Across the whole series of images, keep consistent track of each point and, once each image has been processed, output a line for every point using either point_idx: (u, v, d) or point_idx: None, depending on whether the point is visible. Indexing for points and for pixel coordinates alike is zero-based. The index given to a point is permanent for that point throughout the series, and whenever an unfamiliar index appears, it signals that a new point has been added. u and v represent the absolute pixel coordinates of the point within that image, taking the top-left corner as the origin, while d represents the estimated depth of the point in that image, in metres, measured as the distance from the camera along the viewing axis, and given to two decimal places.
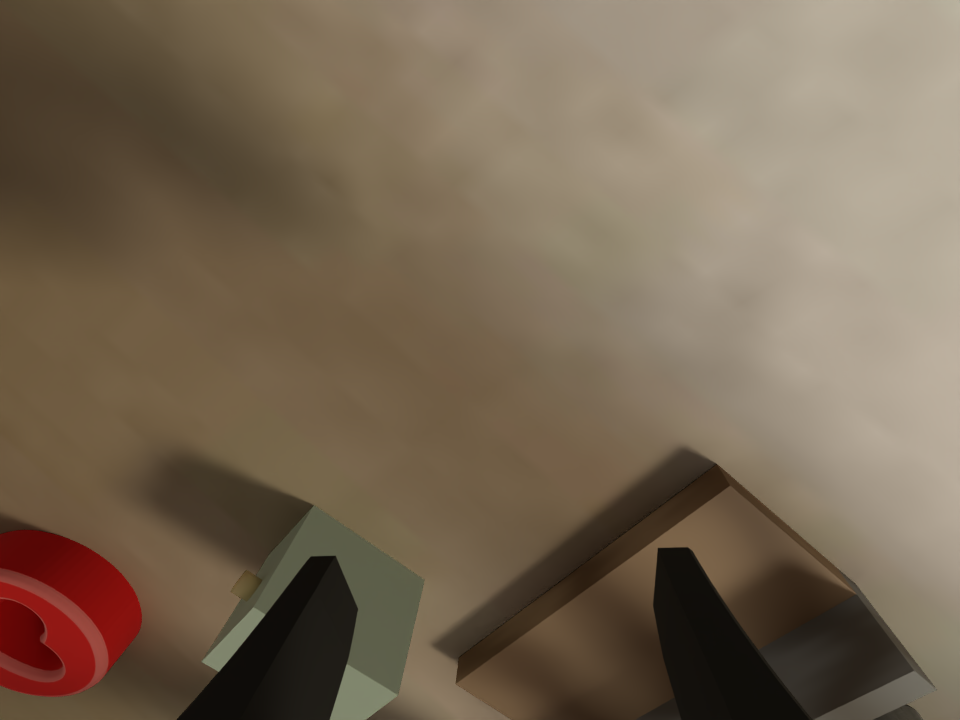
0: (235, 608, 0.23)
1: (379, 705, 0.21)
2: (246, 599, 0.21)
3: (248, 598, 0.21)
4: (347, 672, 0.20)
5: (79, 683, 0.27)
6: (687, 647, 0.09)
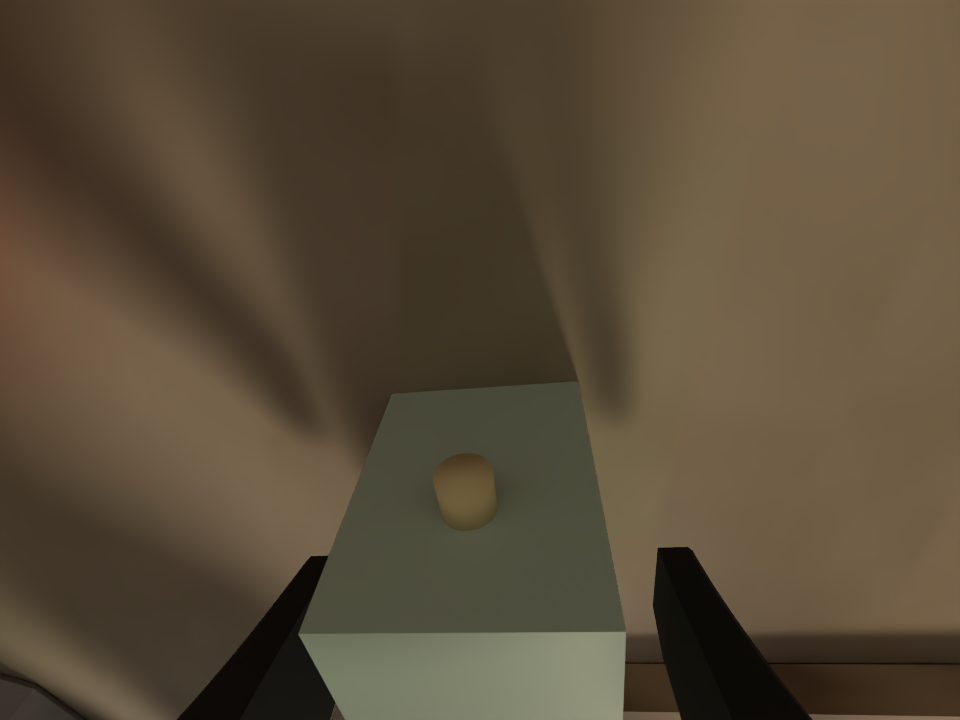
0: (355, 497, 0.09)
1: None
2: (463, 527, 0.08)
3: (472, 529, 0.08)
4: None
5: None
6: (687, 648, 0.09)
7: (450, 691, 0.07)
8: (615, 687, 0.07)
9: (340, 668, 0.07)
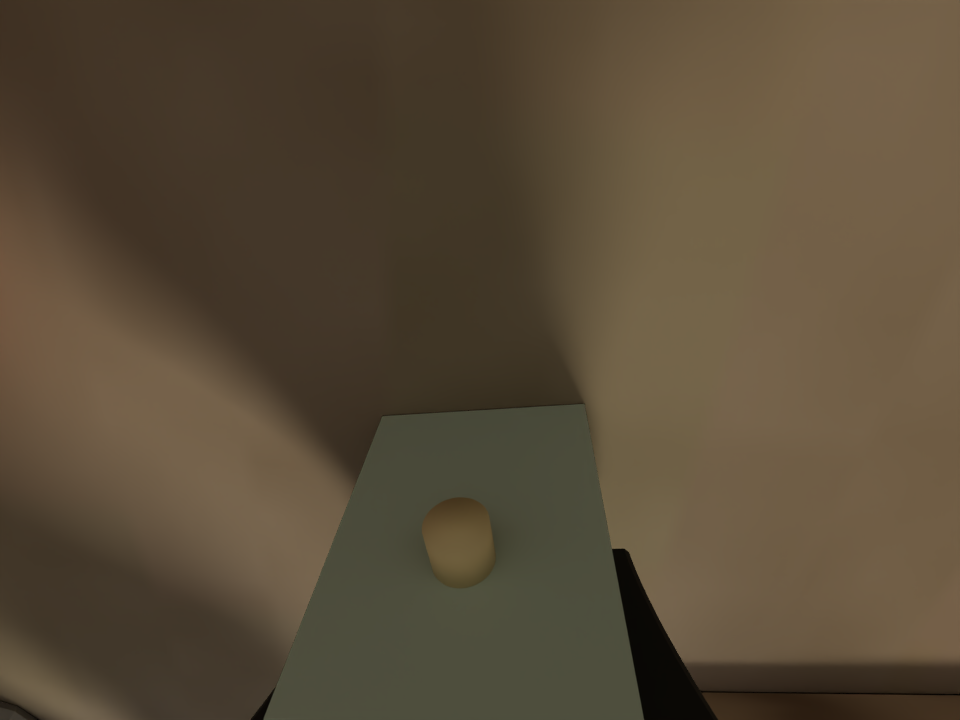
0: (336, 543, 0.08)
1: None
2: (456, 585, 0.07)
3: (466, 587, 0.07)
4: None
5: None
6: None
7: None
8: None
9: None
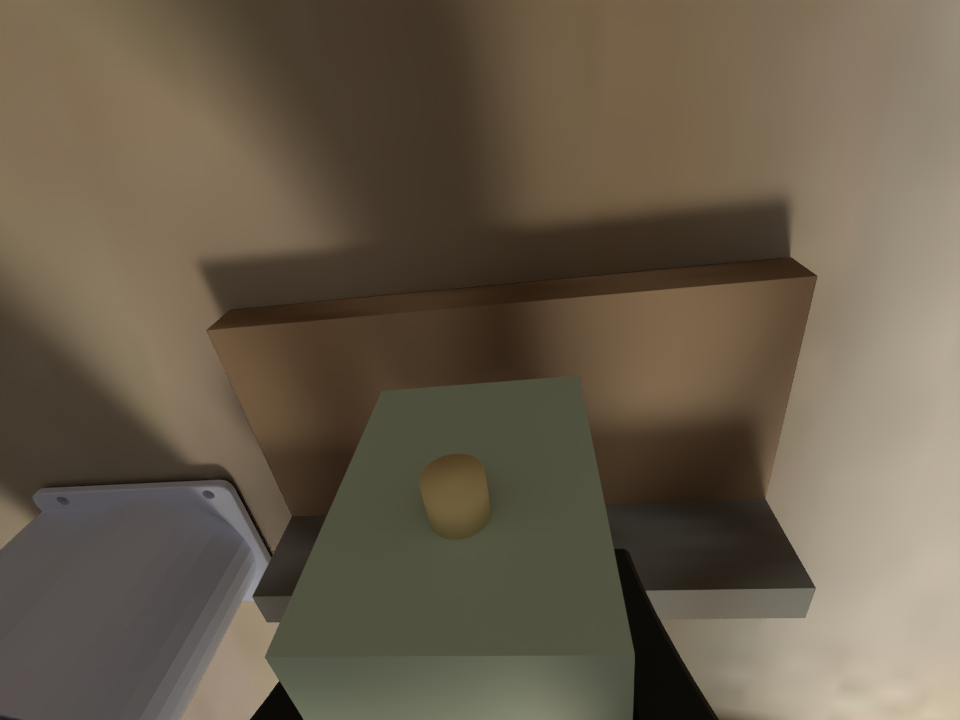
0: (336, 503, 0.08)
1: None
2: (452, 536, 0.07)
3: (462, 538, 0.07)
4: None
5: None
6: None
7: None
8: (623, 716, 0.06)
9: (313, 696, 0.07)
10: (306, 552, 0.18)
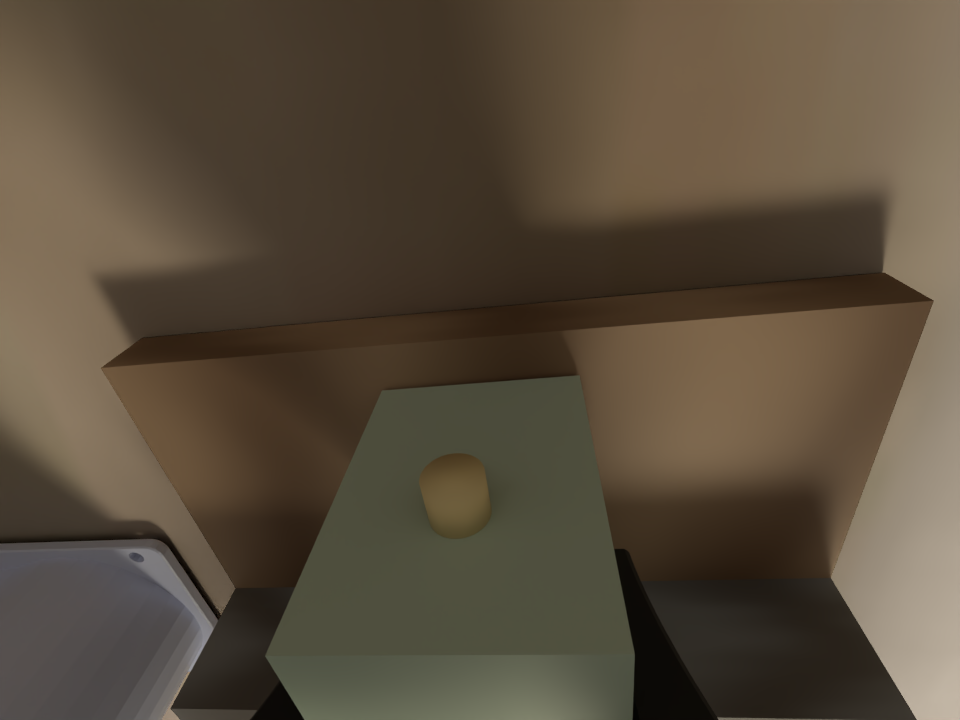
0: (336, 502, 0.08)
1: None
2: (452, 535, 0.07)
3: (462, 537, 0.07)
4: None
5: None
6: None
7: None
8: (622, 716, 0.06)
9: (313, 694, 0.07)
10: (247, 641, 0.14)
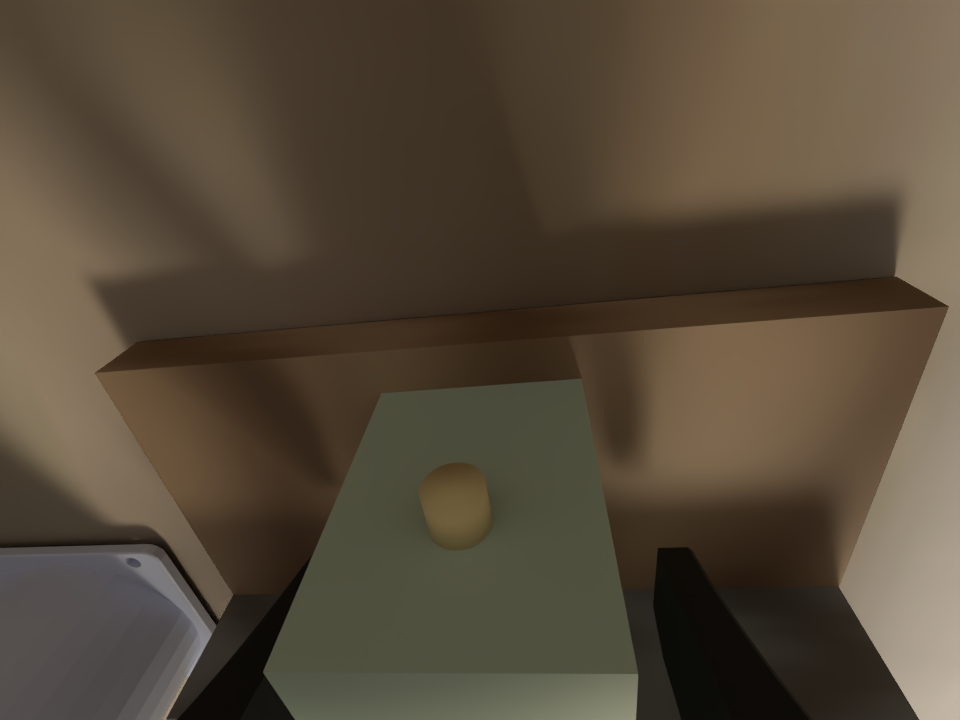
0: (335, 510, 0.08)
1: None
2: (453, 546, 0.07)
3: (462, 548, 0.07)
4: None
5: None
6: (687, 647, 0.09)
7: None
8: None
9: (312, 709, 0.06)
10: None
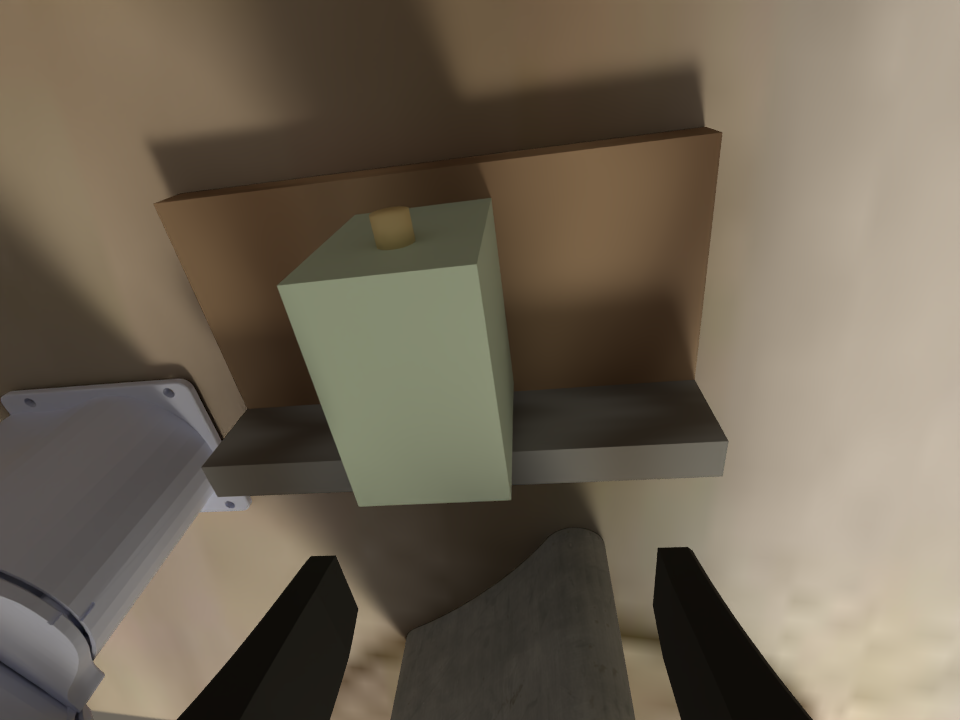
0: (320, 248, 0.13)
1: (471, 497, 0.14)
2: (389, 246, 0.12)
3: (394, 247, 0.12)
4: (486, 438, 0.13)
5: None
6: (687, 648, 0.09)
7: (377, 338, 0.11)
8: (479, 322, 0.11)
9: (304, 320, 0.11)
10: (256, 433, 0.19)
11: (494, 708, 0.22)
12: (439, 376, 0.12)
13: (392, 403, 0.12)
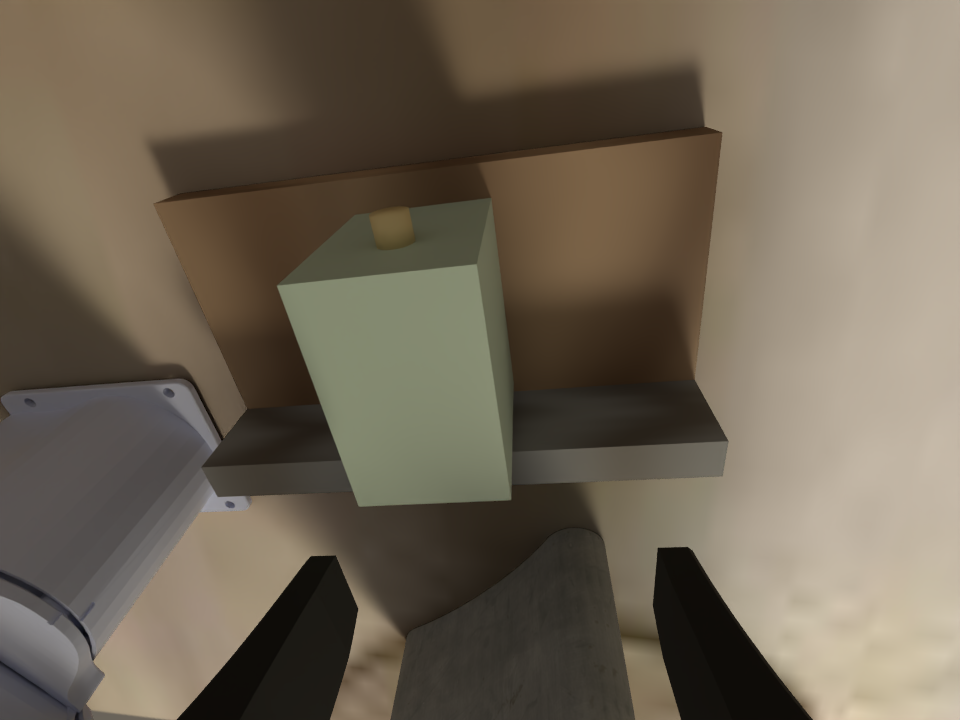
0: (320, 248, 0.13)
1: (471, 497, 0.14)
2: (389, 246, 0.12)
3: (394, 247, 0.12)
4: (486, 438, 0.13)
5: None
6: (687, 648, 0.09)
7: (377, 338, 0.11)
8: (479, 322, 0.11)
9: (304, 320, 0.11)
10: (256, 433, 0.19)
11: (494, 708, 0.22)
12: (439, 376, 0.12)
13: (392, 403, 0.12)
